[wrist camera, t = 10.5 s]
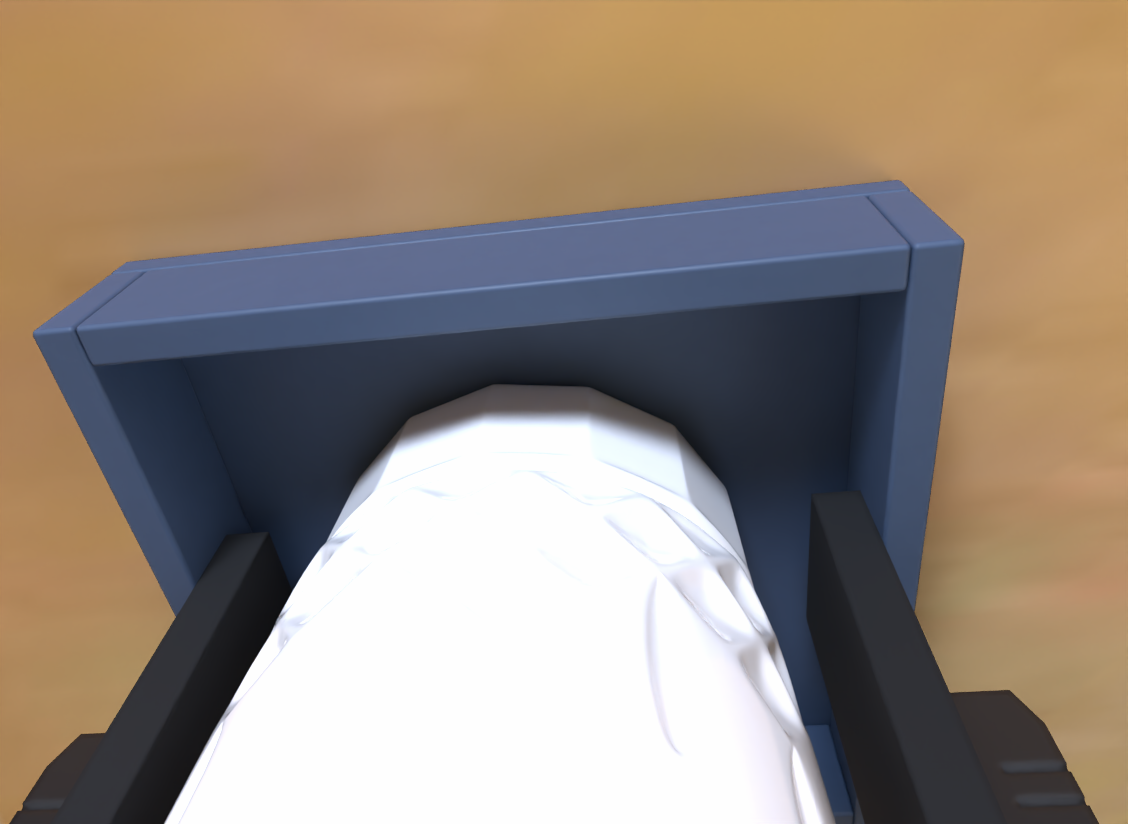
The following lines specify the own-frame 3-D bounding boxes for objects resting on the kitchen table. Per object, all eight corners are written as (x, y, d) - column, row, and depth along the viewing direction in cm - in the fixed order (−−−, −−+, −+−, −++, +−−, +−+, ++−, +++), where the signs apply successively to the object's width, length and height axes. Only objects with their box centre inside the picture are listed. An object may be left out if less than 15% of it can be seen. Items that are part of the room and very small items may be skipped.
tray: (900, 178, 12) (967, 239, 9) (851, 720, 17) (885, 832, 15) (125, 260, 13) (27, 331, 11) (328, 742, 19) (291, 850, 16)
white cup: (850, 579, 15) (1187, 1497, 6) (515, 740, 17) (429, 1529, 9) (583, 244, 12) (524, 1150, 3) (228, 504, 14) (-314, 1358, 6)
